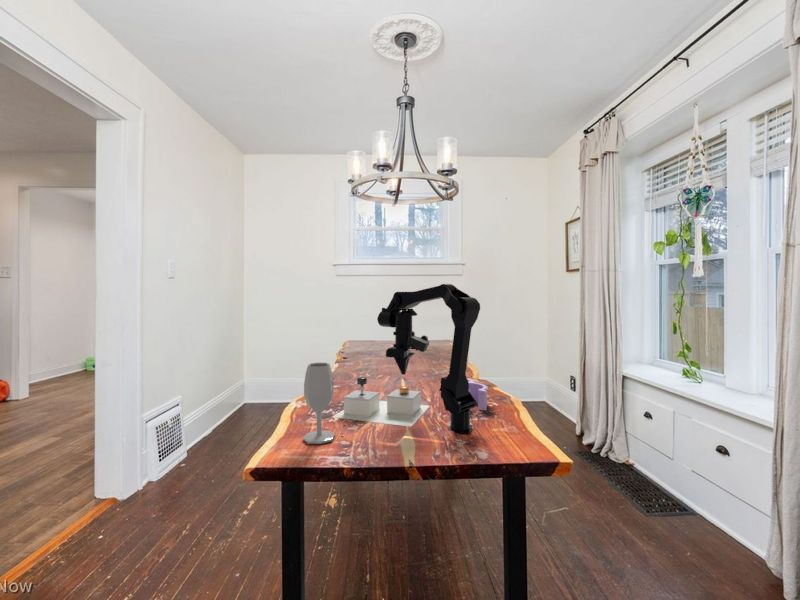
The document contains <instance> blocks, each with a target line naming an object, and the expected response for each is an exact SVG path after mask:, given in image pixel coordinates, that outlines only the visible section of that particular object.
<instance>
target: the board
mask: <svg viewBox="0 0 800 600" xmlns="http://www.w3.org/2000/svg"><path fill="white" fill-rule="evenodd" d="M379 404H380V409H379V410H378V411H376V412H375V413H374V414H373V415H371V416H370V417H362V416H353V415H345V414H344V409H342V410H340V411H339V412H338V413H336V414H334V415H333V416H332V418H337V419H343V420H344V419H345V420H353V421H361V422H369V423H377V424H386V425H392V426H393V425H395V426H400V427H410V428H412V427H413V426H414V425H415V423H417V421H418V420H419V419H420V418H421V417H422V415H424V413H426V411H427V410H428V409H429V408H430V405H428V404H427V405H426V404H421V408H420V409H419V410H418V411H417V412H416V413H415V414H414V415H413V416H409V415H400V414H391V413H387V400H379Z"/></svg>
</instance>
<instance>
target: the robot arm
mask: <svg viewBox="0 0 800 600" xmlns="http://www.w3.org/2000/svg"><path fill="white" fill-rule="evenodd" d="M440 299H442V300H443V301H444V304H445V306H446V307H448V309H450V312H451V313H450V314H451V315H450V316H451V320H452V323H453V325H454V329H453V330H454V332H453V338H452V339H453V340H452V346H451V356H450V362H449V370H448V371H449V372H448V375H446V376H443V377H440V387H439V389H438V391H439V392H440V398H441V399H442V402H443V405H444V410H445V411H447V412H449V413H450V425H449V426H448V428H447V431H450V432H454V433H457V434H458V433H459V434H463V435H464V434H465V435H469V434H471V432H472V430H473V425H472V424H471V422H470V421H471V415H470V414H471V409H473V408H474V409H475V408H476V405H477V402H476V400H475V399H474V398H473V396H472V395H471V393H470V392H469V383H468V380H467V373H466V372H467V366H468V358H469V349H470V342H471V335H472V328H473V326H474V325H475V324H476V321H477V320H478V317H479V313H480V310H481V304H480V302H479V301H478V300H477V298H475V297H472V296H470V295H469V294H468V293H466V292H464V291H462V290H461V289H459V288H457V287H456V286H455V285H454V284H452V283H441V284H440V285H436V286H433V287H429V288H428V287H427V288H423V289H420V290H415V291H395V292H394V293H393V296H392V298H391V299H390V300H391V301H390V302H389V304H388V306H387V307H381V311H380V312H379V314H378V316H377V319H376V320H377V323H378V324H379V326H380V327H385V328H393V329H395V330H394V331H393V336H395V338H394V339H395V341H394V342H395V343H394V344H392V345H393V346H391V347H388V348H387V349H386V350H385V358H393V359H394V360H395V363H396V365H397V367H398V369H399V371H400V373H401V375H406V373H407V371H408V370H407V369H408V366H409V362H410V358H412V357H413V356H414V355H415V354H416V353H415V352H412V350H415V351H419V352H421V353H424V352H427V349H428V347H429V345H430V340H429V338H428V336H426V335H421V337H420V336H416V333H415V331H413V317H416V316H418V313H417V312H416V311H415V310H414V307H416V306H419V305H420V304H421V303H424V302H430V301H435V300H440ZM458 402H460V403H458Z"/></svg>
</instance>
